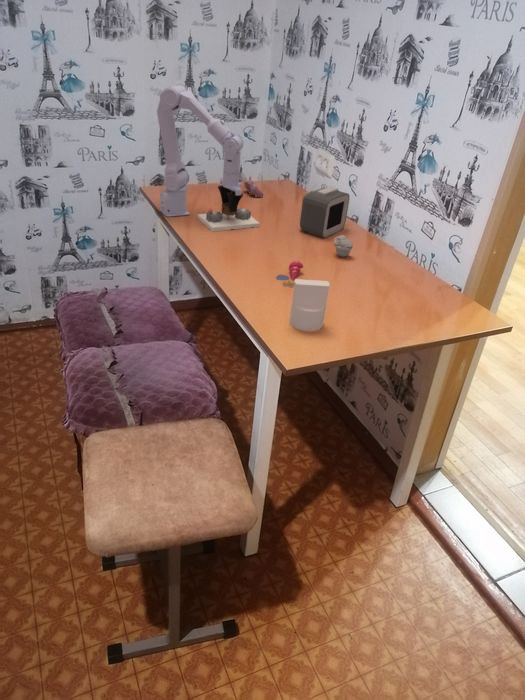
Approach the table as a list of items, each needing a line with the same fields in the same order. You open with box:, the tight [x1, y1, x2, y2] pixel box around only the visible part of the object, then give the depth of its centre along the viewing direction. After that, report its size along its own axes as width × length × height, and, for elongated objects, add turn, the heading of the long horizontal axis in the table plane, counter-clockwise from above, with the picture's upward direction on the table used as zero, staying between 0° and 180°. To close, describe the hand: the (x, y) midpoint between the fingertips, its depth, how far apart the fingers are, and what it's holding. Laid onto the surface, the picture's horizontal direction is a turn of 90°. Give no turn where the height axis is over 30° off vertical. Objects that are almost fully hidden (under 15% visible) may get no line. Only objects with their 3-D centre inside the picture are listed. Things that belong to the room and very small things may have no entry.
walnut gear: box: [221, 202, 238, 216], centre depth 209 cm, size 6×6×3 cm
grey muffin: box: [333, 234, 354, 258], centre depth 193 cm, size 6×7×7 cm
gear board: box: [197, 207, 261, 233], centre depth 210 cm, size 19×14×6 cm
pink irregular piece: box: [243, 179, 264, 198], centre depth 241 cm, size 10×5×7 cm, turn 26°
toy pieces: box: [275, 260, 306, 289], centre depth 174 cm, size 12×11×4 cm
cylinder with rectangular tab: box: [289, 278, 330, 332], centre depth 150 cm, size 9×9×12 cm
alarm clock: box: [299, 185, 350, 239], centre depth 210 cm, size 16×11×16 cm
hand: (229, 208), depth 209 cm, fingers closed on walnut gear, 6 cm apart
